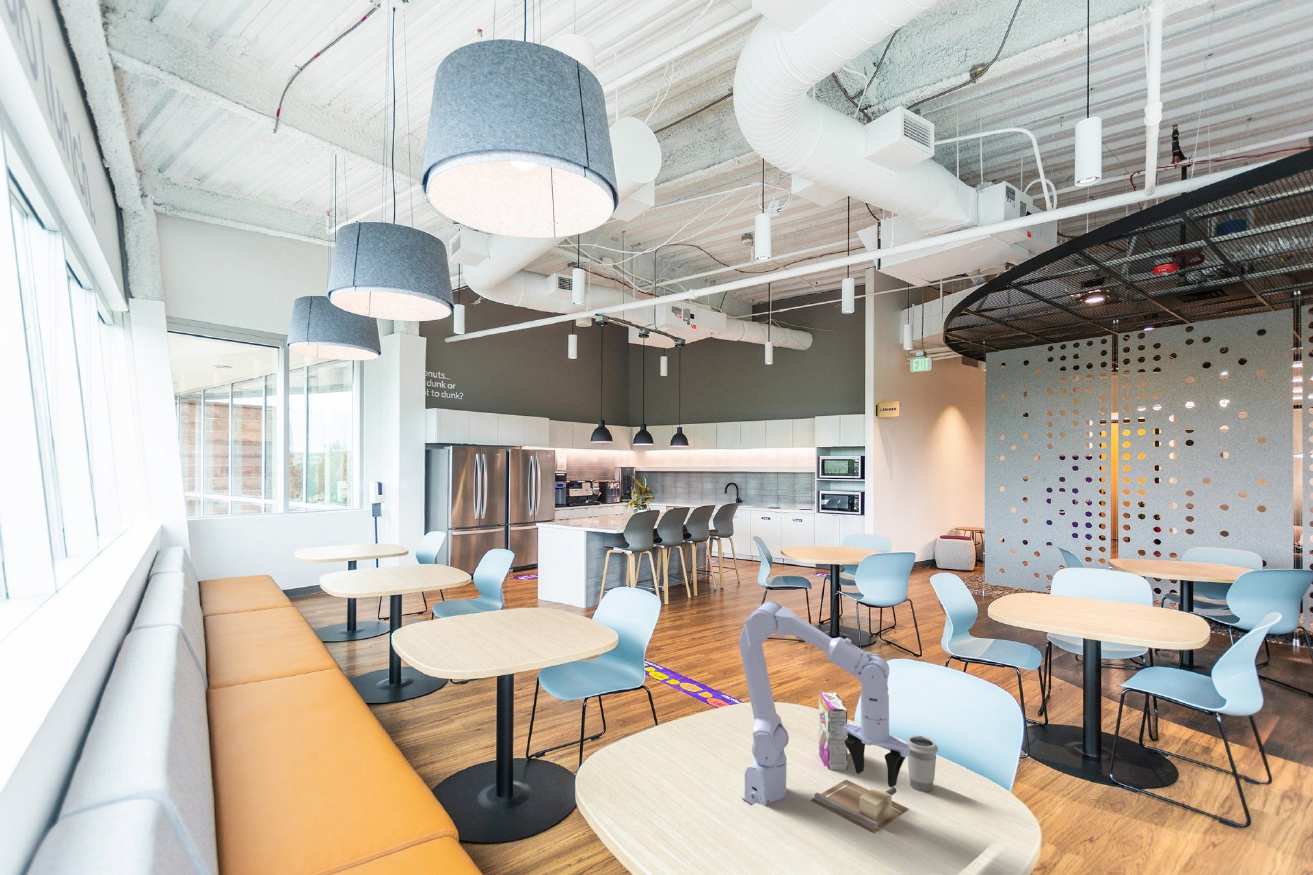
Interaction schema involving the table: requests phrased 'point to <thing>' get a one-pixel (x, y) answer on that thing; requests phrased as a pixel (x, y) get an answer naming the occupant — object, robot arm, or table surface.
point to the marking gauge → (876, 804)
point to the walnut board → (852, 805)
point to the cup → (921, 762)
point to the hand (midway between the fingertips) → (875, 778)
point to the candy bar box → (832, 731)
